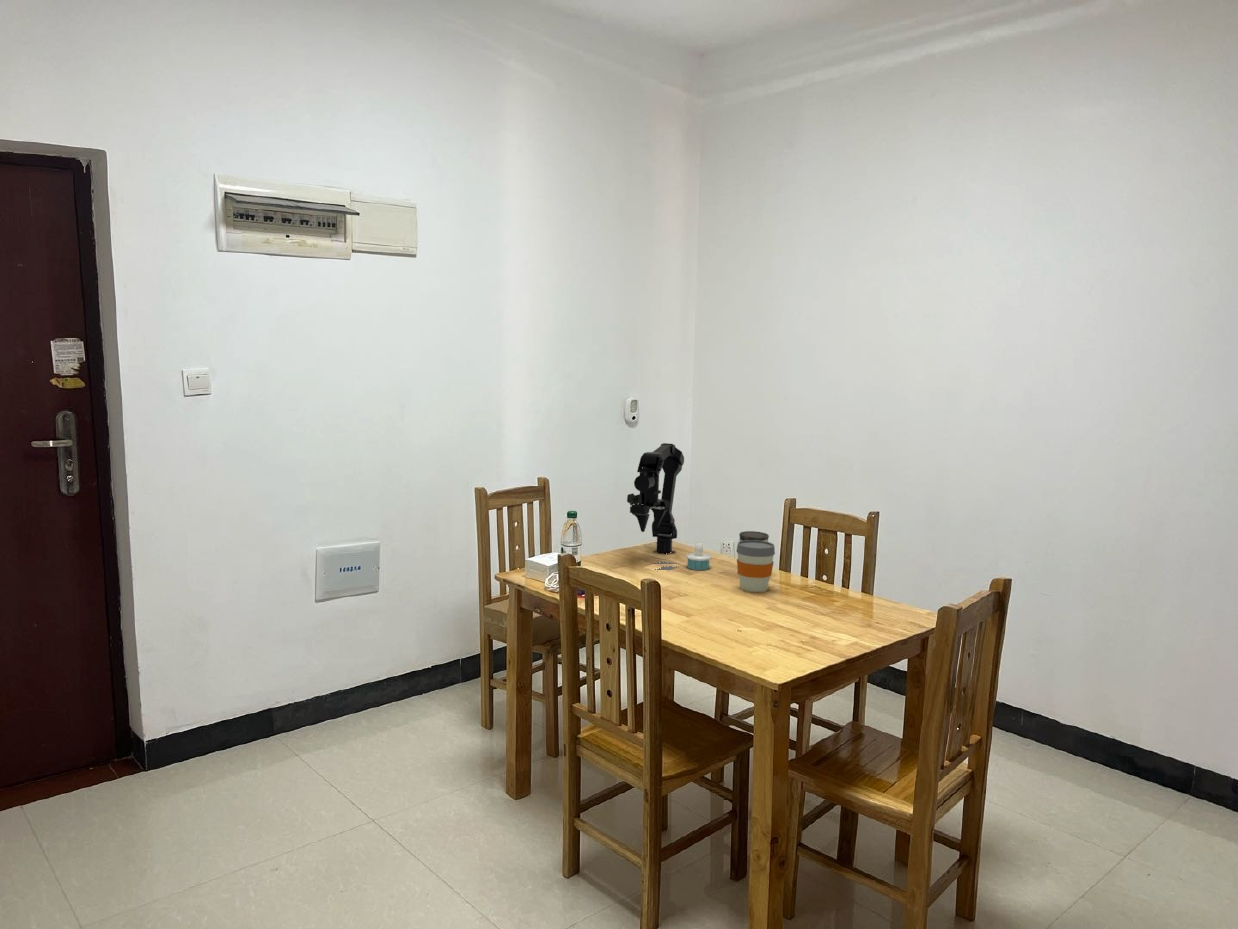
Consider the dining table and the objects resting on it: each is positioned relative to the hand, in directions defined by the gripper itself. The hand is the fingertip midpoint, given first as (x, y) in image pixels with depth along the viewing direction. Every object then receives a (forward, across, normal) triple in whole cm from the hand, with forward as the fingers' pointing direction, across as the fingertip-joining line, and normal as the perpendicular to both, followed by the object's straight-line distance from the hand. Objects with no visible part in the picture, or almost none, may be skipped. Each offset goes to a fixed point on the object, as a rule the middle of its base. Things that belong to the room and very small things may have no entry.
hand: (649, 529), depth 314 cm
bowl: (+12, -5, +18) cm, 23 cm away
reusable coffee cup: (+13, +6, +45) cm, 47 cm away
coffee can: (+13, -12, +36) cm, 40 cm away
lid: (+8, -5, +18) cm, 21 cm away
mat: (+12, +2, +7) cm, 14 cm away
